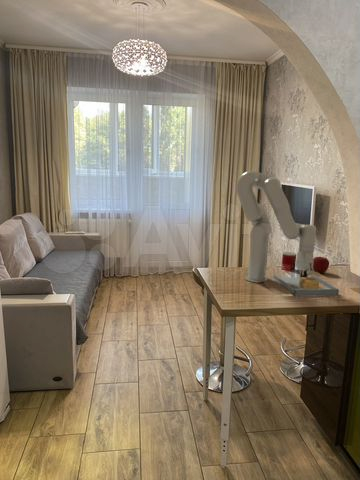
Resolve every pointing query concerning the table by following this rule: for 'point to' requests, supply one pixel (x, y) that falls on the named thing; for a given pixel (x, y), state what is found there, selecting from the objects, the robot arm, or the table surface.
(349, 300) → the table surface
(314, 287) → the block
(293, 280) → the grey tray
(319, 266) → the apple
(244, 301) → the table surface
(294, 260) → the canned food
